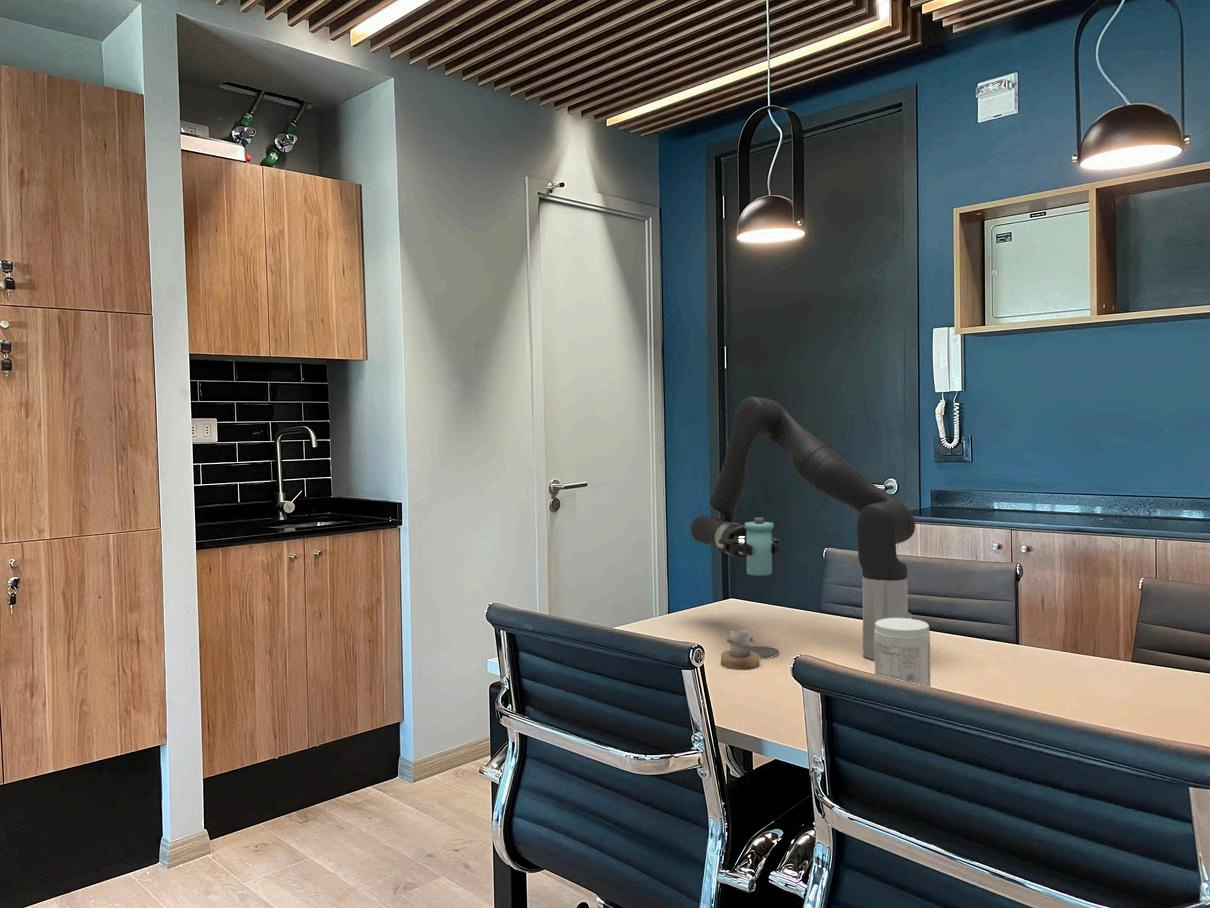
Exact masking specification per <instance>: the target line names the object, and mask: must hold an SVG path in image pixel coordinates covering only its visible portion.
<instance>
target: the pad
mask: <svg viewBox="0 0 1210 908" xmlns="http://www.w3.org/2000/svg"><path fill="white" fill-rule="evenodd" d="M750 651H752V652H756V653H758V654H759V657H771V656H775V655H777V654H779V655H780V650H779V649H778V648H775V647H772V646H770V647H769V646H765V645H764V646H762V645H761V646H756V645H755V646H750Z"/></svg>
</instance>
